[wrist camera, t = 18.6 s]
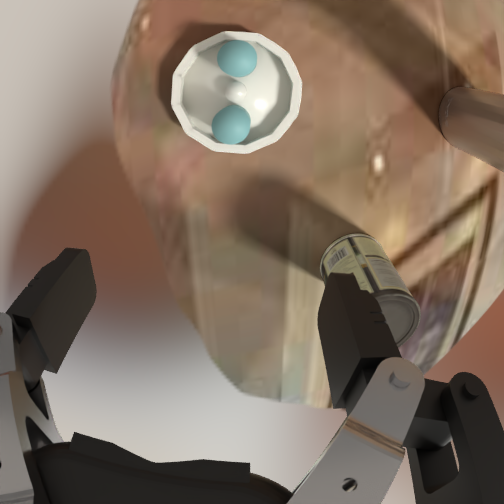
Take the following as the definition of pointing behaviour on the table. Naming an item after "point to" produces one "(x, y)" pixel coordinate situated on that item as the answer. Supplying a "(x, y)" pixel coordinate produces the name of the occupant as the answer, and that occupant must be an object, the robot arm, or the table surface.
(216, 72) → the ring tray
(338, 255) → the coffee can
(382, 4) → the table surface
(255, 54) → the bead
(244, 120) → the bead
